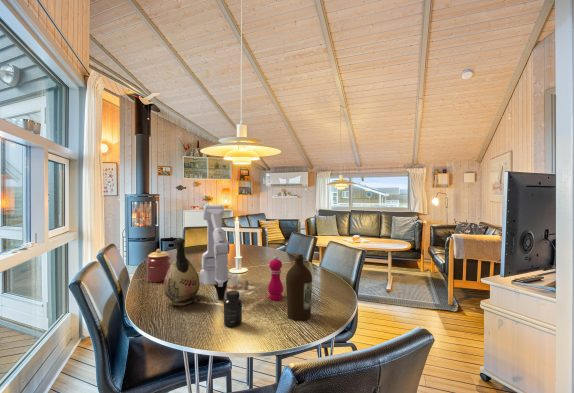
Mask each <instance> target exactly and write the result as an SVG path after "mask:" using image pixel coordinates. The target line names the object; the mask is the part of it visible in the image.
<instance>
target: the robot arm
mask: <svg viewBox="0 0 574 393" xmlns="http://www.w3.org/2000/svg"><path fill="white" fill-rule="evenodd" d="M202 208H203V209H202V213H203V214H202V217H203V220H204V221H206V224H207V226H206V228H207V230H206V231H207V241H206V242H207V244H206V246H207V249H206V251H205V252H203V253H202V255H201V262H200V263H201V268H202V269H201V270H199V271H200V272H199V282H200V284H203V285H207V286H212V285H214V289H216V290H215V292H216V291H217V294H218V299H219V300H218V301H223V300H225V299H224V294H225V290H226V287H227V282H228V279H230V277H228V274H229V254H230V252H231V251H230V242H229V241H228V239H227V237H226V232H225V230H224V229H223V228H222V227H223V226H222V218H223V217H224V214H225V208H224V206H223V205H222V204H211V205H210V204H209V205H207V204H205V205H203V207H202Z"/></svg>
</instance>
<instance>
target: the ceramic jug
mask: <svg viewBox="0 0 574 393" xmlns="http://www.w3.org/2000/svg"><path fill="white" fill-rule="evenodd" d="M185 241H186V240H185V238H183V237H177V238H176V239H175V240H174V241H173V244H174V245H175V247H176V255H175V257H174V260H173V262H172V263H171V265H170V268H169V270H168V272H167V274H166V277H165V280H164V281H163V291H164V295H165V296H166V297H167V298H168V299H169V300H170V301H171V303H172V305H174V306H185V305H188V304H191V303H193V302H194V300H195V297H196V295H198V292H199V289H200V286H201V285H200V284H201V283H200V276H199V274H198V272H197V270H196V267H194V266H193V264H192V262H190V260H189V259H188V258H187V257H186V254H185Z"/></svg>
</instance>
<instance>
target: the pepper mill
mask: <svg viewBox="0 0 574 393" xmlns="http://www.w3.org/2000/svg"><path fill="white" fill-rule="evenodd" d="M282 267H283V263H282V261H281V260H280V259H278V256H274V257H273V259H271V260H270V261H269V269H270V275H271V278H270V281H269V283H268V287H267V291H268V293H269V294H268V299H269V300H271V301H275V302H276V301H281V300H283V294H282V293H283V292H284V285H283V283H282V281H281V273H282V269H281V268H282Z"/></svg>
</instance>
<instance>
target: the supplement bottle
mask: <svg viewBox="0 0 574 393" xmlns="http://www.w3.org/2000/svg"><path fill="white" fill-rule="evenodd" d="M226 298H227V299H224V301H223V325H224V326H225V327H227V328H237V327H240V326H241V325H242V323H243V301H242V299H241V298H240V293H239V292H238V291H228V292H227V293H226Z"/></svg>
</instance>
